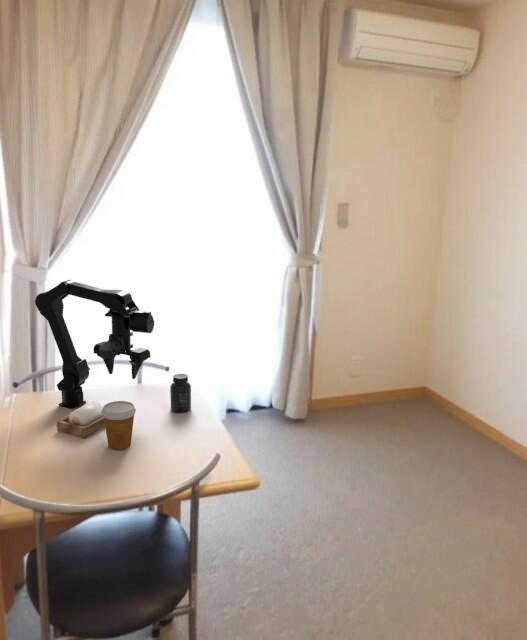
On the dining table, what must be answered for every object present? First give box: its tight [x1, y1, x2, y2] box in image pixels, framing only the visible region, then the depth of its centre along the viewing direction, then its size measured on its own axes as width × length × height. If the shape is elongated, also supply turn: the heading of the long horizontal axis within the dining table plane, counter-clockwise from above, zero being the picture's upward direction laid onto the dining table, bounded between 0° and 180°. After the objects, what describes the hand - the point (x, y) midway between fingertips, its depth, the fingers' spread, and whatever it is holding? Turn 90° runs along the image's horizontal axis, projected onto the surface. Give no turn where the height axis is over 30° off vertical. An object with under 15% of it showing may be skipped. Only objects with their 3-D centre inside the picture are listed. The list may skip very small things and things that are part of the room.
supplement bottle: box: [169, 373, 192, 414], centre depth 186 cm, size 7×7×12 cm
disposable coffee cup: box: [101, 400, 137, 451], centre depth 160 cm, size 10×10×12 cm
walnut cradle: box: [56, 415, 105, 440], centre depth 172 cm, size 10×14×3 cm
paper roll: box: [68, 400, 104, 427], centre depth 172 cm, size 10×6×6 cm, turn 156°
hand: (122, 376), depth 182 cm, fingers open, 9 cm apart
